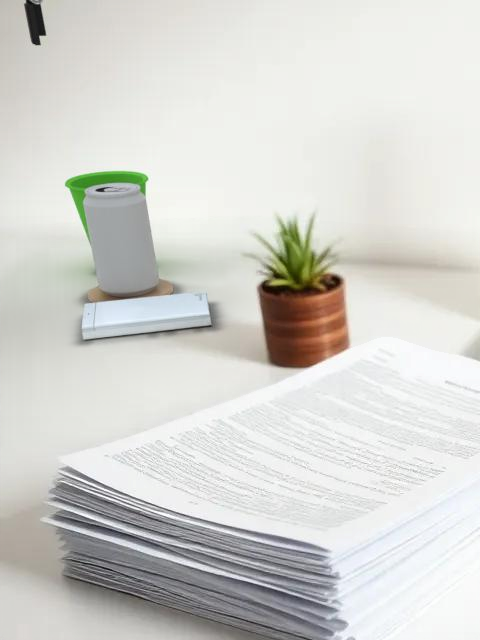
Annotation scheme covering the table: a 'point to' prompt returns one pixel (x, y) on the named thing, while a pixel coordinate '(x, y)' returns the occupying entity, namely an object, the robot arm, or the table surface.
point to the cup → (98, 178)
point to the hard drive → (145, 315)
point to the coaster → (159, 290)
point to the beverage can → (121, 239)
